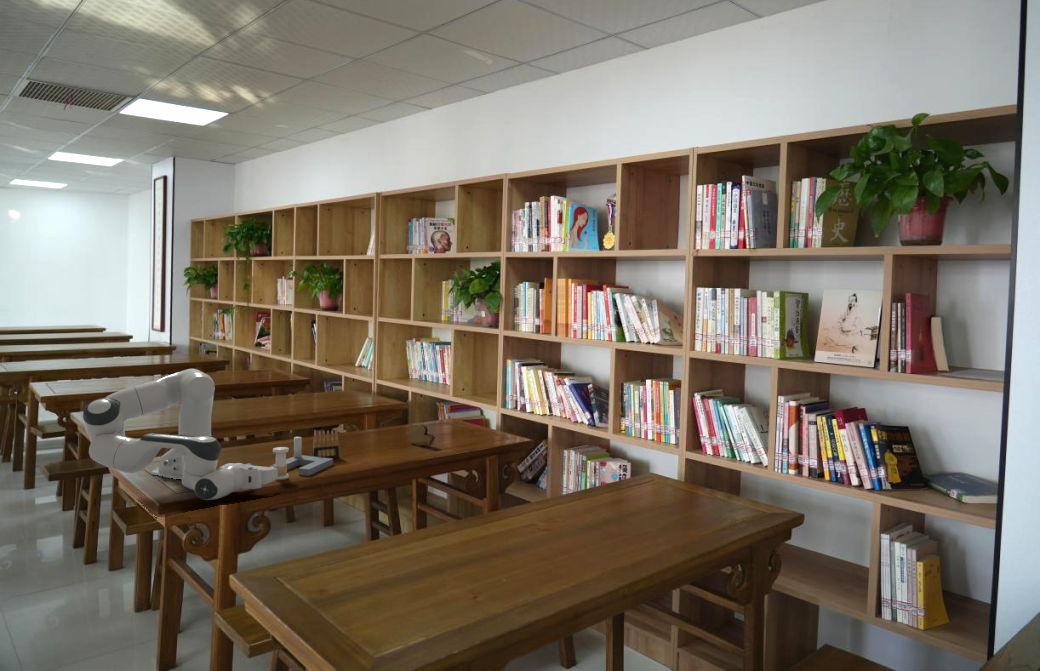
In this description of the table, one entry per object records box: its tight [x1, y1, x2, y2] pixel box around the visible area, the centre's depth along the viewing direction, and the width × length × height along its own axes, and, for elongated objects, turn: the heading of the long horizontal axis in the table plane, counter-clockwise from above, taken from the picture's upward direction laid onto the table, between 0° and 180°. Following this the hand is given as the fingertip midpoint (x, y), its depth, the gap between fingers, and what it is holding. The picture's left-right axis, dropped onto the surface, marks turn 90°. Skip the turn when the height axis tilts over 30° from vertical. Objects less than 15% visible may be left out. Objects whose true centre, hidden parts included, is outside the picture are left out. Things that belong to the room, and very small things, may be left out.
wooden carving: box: [405, 422, 436, 447], centre depth 327 cm, size 16×5×10 cm, turn 59°
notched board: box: [271, 436, 334, 477], centre depth 280 cm, size 16×18×10 cm
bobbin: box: [272, 446, 290, 481], centre depth 266 cm, size 6×6×11 cm
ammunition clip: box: [311, 429, 340, 459], centre depth 297 cm, size 11×2×12 cm, turn 121°
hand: (262, 467), depth 254 cm, fingers open, 8 cm apart
